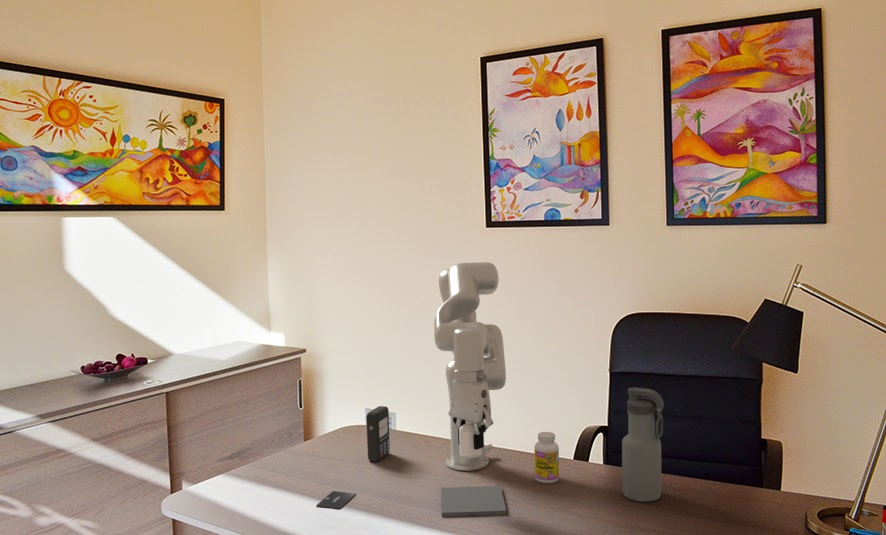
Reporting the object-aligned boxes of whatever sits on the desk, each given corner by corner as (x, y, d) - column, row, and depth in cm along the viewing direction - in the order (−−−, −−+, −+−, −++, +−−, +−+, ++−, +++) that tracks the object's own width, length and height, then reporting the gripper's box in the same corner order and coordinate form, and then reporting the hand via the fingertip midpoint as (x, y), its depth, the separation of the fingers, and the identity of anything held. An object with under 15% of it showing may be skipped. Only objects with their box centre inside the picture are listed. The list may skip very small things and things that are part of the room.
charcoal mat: (441, 491, 198) (440, 487, 198) (500, 489, 198) (500, 485, 198) (441, 516, 182) (441, 512, 182) (506, 514, 182) (506, 510, 182)
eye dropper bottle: (479, 459, 186) (478, 413, 185) (457, 457, 188) (456, 411, 187) (483, 454, 190) (482, 408, 189) (463, 452, 192) (462, 407, 191)
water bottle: (666, 492, 193) (666, 387, 191) (658, 506, 185) (658, 396, 182) (627, 486, 198) (627, 383, 196) (618, 499, 190) (617, 392, 187)
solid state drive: (315, 508, 190) (315, 505, 190) (332, 493, 199) (332, 490, 199) (340, 510, 188) (340, 508, 188) (356, 495, 197) (356, 493, 197)
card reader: (378, 463, 221) (377, 414, 219) (366, 461, 222) (364, 413, 221) (391, 453, 229) (389, 406, 228) (379, 452, 231) (378, 405, 229)
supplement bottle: (532, 482, 202) (531, 436, 201) (538, 474, 209) (537, 429, 207) (556, 485, 200) (555, 439, 199) (561, 476, 206) (561, 431, 205)
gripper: (504, 378, 184) (506, 449, 185) (455, 368, 196) (456, 435, 197) (484, 383, 178) (486, 457, 180) (435, 373, 190) (437, 442, 192)
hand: (471, 445), depth 189 cm, fingers closed on eye dropper bottle, 4 cm apart
